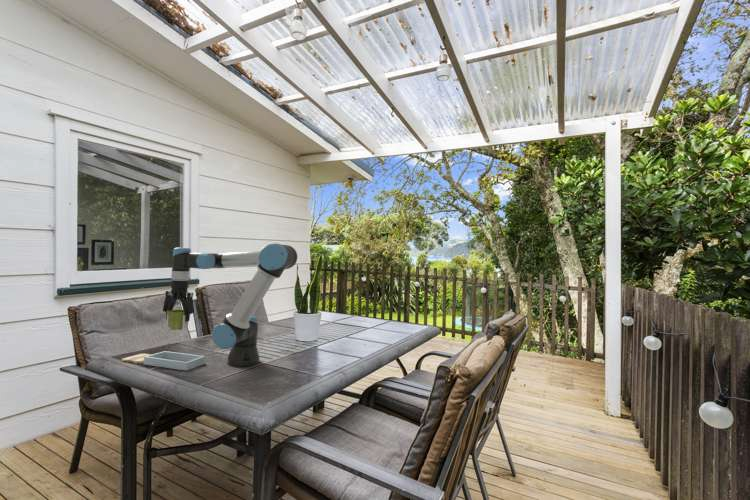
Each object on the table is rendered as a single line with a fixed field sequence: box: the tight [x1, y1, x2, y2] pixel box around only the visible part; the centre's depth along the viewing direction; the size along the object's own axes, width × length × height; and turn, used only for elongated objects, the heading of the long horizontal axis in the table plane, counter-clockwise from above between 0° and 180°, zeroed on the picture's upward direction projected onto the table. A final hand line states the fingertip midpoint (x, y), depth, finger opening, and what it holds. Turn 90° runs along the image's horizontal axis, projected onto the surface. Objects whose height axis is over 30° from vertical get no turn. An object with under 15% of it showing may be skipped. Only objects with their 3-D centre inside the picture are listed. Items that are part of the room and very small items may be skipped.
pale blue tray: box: [143, 350, 206, 371], centre depth 175 cm, size 24×12×4 cm, turn 76°
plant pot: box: [167, 309, 185, 331], centre depth 176 cm, size 9×9×9 cm
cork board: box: [120, 352, 152, 365], centre depth 180 cm, size 12×12×1 cm
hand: (177, 327), depth 176 cm, fingers closed on plant pot, 8 cm apart
